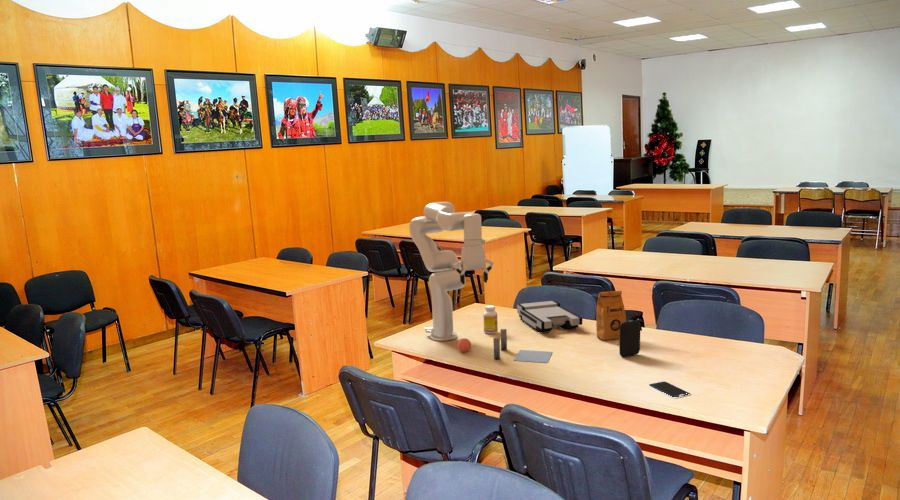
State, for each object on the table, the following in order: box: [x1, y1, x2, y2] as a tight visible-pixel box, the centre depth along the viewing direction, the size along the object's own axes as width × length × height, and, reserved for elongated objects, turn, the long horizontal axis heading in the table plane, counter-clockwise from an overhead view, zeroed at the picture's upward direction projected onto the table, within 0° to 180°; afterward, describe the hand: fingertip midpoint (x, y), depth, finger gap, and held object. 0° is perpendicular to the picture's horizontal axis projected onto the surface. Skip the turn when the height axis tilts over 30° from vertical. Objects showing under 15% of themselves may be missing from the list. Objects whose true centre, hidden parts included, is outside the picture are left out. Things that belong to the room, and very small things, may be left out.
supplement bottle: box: [482, 304, 499, 335], centre depth 292 cm, size 7×7×13 cm
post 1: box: [492, 336, 501, 361], centre depth 253 cm, size 3×3×9 cm
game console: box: [516, 300, 583, 334], centre depth 301 cm, size 21×32×8 cm, turn 14°
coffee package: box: [595, 290, 627, 341], centre depth 275 cm, size 10×12×22 cm
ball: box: [457, 338, 472, 353], centre depth 264 cm, size 6×6×6 cm
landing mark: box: [513, 349, 553, 364], centre depth 255 cm, size 14×14×1 cm
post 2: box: [500, 328, 508, 352], centre depth 265 cm, size 3×3×9 cm
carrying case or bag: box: [618, 319, 643, 358], centre depth 251 cm, size 11×3×15 cm, turn 111°
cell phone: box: [648, 381, 691, 398], centre depth 215 cm, size 7×14×1 cm, turn 21°
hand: (474, 282), depth 259 cm, fingers open, 9 cm apart
